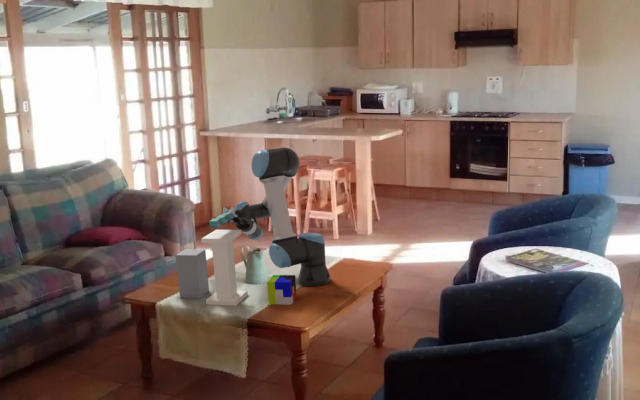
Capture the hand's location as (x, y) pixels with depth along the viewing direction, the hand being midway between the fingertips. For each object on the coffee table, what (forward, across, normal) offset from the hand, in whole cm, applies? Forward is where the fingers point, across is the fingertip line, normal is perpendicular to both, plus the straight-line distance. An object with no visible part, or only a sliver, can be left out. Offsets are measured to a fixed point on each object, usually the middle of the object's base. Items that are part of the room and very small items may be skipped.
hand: (227, 209), depth 310 cm
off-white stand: (-11, 0, -38) cm, 40 cm away
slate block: (-16, +18, -35) cm, 43 cm away
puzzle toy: (-13, -25, -38) cm, 47 cm away
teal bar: (+2, 0, -6) cm, 6 cm away
